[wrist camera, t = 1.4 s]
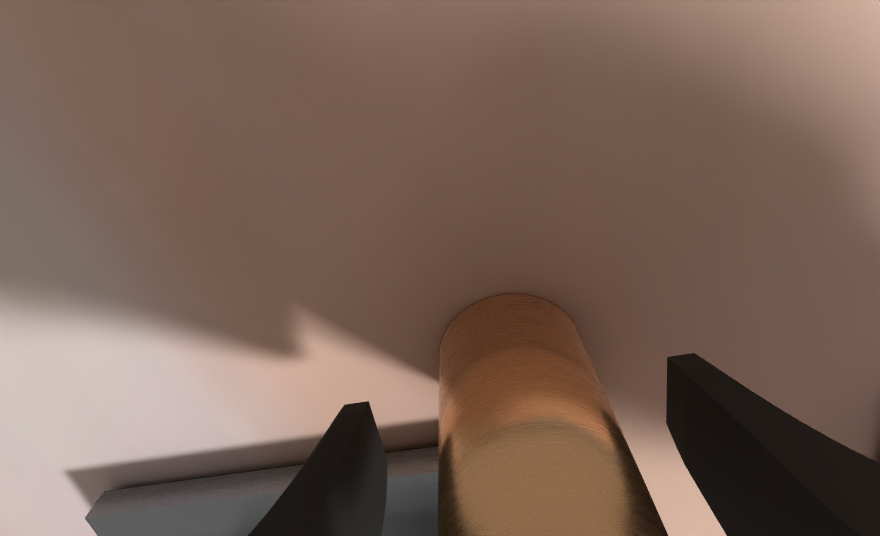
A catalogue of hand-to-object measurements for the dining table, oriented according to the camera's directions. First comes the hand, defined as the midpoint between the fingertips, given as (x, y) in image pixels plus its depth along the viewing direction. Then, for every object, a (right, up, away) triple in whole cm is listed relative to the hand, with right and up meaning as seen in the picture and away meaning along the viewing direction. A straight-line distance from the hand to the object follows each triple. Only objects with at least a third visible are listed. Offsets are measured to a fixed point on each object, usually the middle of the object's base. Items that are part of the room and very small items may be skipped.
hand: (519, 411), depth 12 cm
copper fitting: (0, +1, +2) cm, 2 cm away
